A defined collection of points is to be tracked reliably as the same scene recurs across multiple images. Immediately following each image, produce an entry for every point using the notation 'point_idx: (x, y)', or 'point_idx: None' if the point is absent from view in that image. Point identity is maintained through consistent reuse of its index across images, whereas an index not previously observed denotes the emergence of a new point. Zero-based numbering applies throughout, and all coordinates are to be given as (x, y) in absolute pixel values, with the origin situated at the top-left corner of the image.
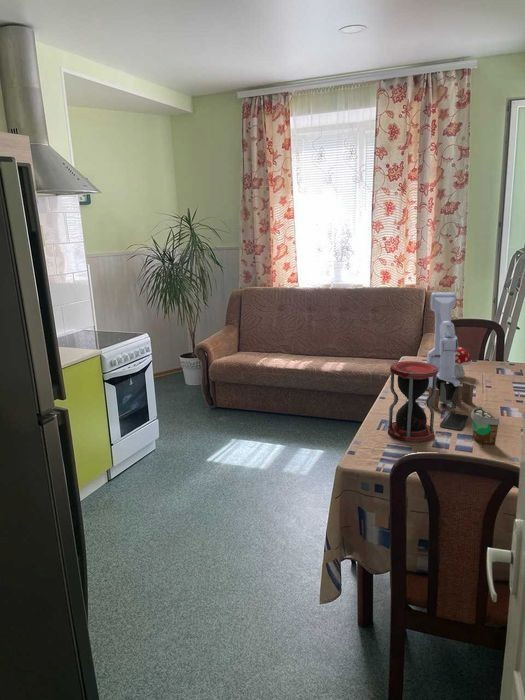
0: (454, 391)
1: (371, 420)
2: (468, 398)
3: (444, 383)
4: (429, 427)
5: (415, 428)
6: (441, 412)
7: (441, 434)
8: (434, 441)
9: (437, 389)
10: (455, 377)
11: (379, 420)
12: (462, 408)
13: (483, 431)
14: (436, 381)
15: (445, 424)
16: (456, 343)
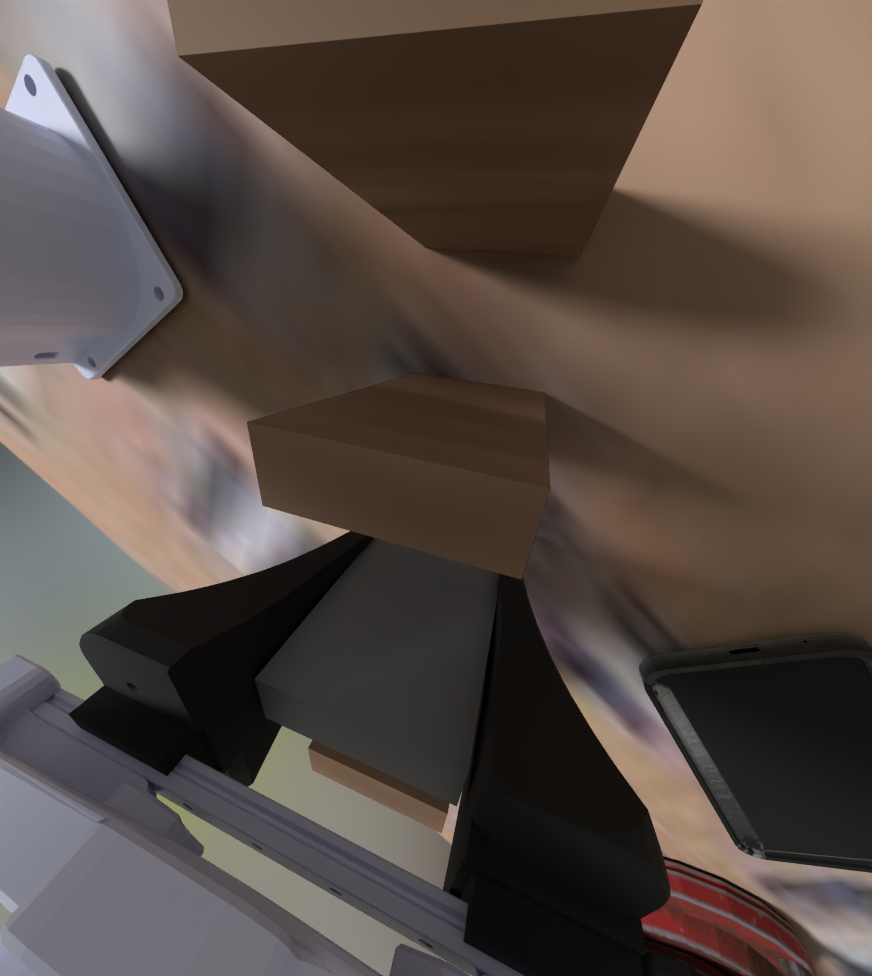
0: (552, 667)
1: (451, 839)
2: (565, 235)
3: (316, 724)
4: (742, 930)
5: None
6: (567, 660)
7: (821, 905)
8: (837, 960)
9: (434, 819)
10: (272, 963)
11: None
12: (633, 472)
13: None
14: (251, 783)
15: (770, 836)
16: None
